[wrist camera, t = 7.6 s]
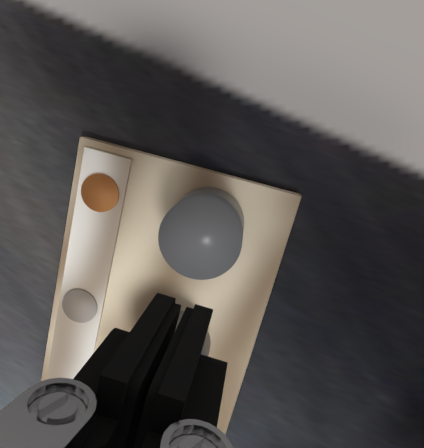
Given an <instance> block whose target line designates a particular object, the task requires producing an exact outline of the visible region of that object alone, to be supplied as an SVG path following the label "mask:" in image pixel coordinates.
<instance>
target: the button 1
mask: <svg viewBox="0 0 424 448" xmlns="http://www.w3.org/2000/svg"><path fill="white" fill-rule="evenodd" d="M243 231H244V215H243V212H242V209H241V207H240V205H239V203H238V202H237V201H236V199H235V198H234V197H233V196H231V195H230V194H229V193H227V192H226V191H224V190H222V189H219V188H215V187H201V188H197V189H194V190H192V191H190V192H189V193H187V194H186V195H185V196H184V197H183V198H182V199H181V200H180V201H179V202H178V203H176V204H175V205H174V206H173V207H172V208H171V209H170V210H169V211H168V212H167V214H166V215H165V216H164V218H163V220H162V222H161V224H160V228H159V233H158V242H159V248H160V251H161V253H162V256H163V257H164V259H165V261H166V262H167V263H168V265H169V266H170V267H171V268H172V269H173V270H175V271H176V272H178V273H179V274H181V275H183V276H185V277H188V278H191V279H196V280H207V279H212V278H216V277H218V276H221V275H222V274H224V273H226V272H227V271H228V270H229V269H230V268H231V267H232V266H233V265H234V264H235V262H236V261H237V259H238V257H239V255H240V252H241V248H242V240H243Z"/></svg>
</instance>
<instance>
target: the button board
mask: <svg viewBox="0 0 424 448" xmlns="http://www.w3.org/2000/svg"><path fill="white" fill-rule="evenodd" d="M201 187H215V188H219V189H222V190H224V191H226V192H227V193H229V194H230V195H231V196H233V197H234V198H235V199H236V201H237V202H238V203H239V205H240V207H241V209H242V212H243V215H244V231H243V240H242V248H241V252H240V255H239V257H238V259H237V261H236V262H235V264H234V265H233V266H232V267H231V268H230V269H229V270H228V271H227V272H226V273H224V274H222V275H221V276H218V277H216V278H212V279H207V280H196V279H191V278H188V277H185V276H183V275H181V274H179V273H178V272H176V271H175V270H173V269H172V268H171V267H170V266H169V265H168V263H167V262H166V261H165V259H164V257H163V256H162V253H161V251H160V248H159V242H158V233H159V228H160V224H161V222H162V220H163V218H164V216H165V215H166V214H167V212H168V211H169V210H170V209H171V208H172V207H173V206H174V205H175V204H176V203H178V202H179V201H180V200H181V199H182V198H183V197H184V196H185V195H186V194H187V193H189V192H190V191H192V190H194V189H197V188H201ZM301 197H302V196H301V195H300V194H299V193H295V192H291V191H288V190H284V189H280V188H277V187H273V186H269V185H265V184H262V183H258V182H254V181H251V180H247V179H243V178H239V177H236V176H232V175H228V174H224V173H221V172H217V171H213V170H210V169H206V168H202V167H198V166H195V165H191V164H187V163H184V162H180V161H176V160H172V159H169V158H165V157H161V156H158V155H154V154H150V153H146V152H143V151H139V150H135V149H131V148H128V147H124V146H120V145H117V144H113V143H109V142H105V141H102V140H98V139H94V138H91V137H87V136H86V137H80V140H79V146H78V152H77V159H76V165H75V171H74V178H73V184H72V190H71V196H70V203H69V209H68V215H67V222H66V228H65V234H64V241H63V247H62V253H61V259H60V266H59V272H58V278H57V285H56V291H55V297H54V304H53V310H52V316H51V322H50V329H49V335H48V341H47V348H46V354H45V360H44V366H43V373H42V379H41V381H43V380H47V379H52V378H70V379H74V377H75V376H76V375H77V373H78V372H79V371H80V370H81V368H82V367H83V366H84V365H85V363H86V362H87V361H88V360H89V358H90V357H91V356H92V355H93V353H94V352H95V351H96V349H97V348H98V347H99V346H100V344H101V343H102V342H103V341H104V339H105V338H106V337H107V336H108V334H109V333H110V332H111V331H112V330H113V329H114V328H118V329H121V330H125V331H128V332H130V331H131V330H132V328H133V327H134V325H135V324H136V322H137V321H138V320H139V318H140V317H141V315H142V314H143V312H144V311H145V309H146V308H147V307H148V305H149V304H150V302H151V301H152V299H153V298H154V296H155V295H156V294H157V293H160V294H164V295H167V296H170V297H174V298H176V301H175V303H176V304H180V305H181V309H180V310H181V311H185V309H186V307H189V308H194V306H195V304H197V305H201V306H204V307H207V308H211V309H213V313H212V317H211V320H210V324H209V327H208V332H209V335H210V341H211V345H210V351H209V357H212V358H215V359H218V360H222V361H225V362H227V363H228V364H227V370H226V376H225V382H224V388H223V394H222V400H221V406H220V412H219V418H218V424H217V428H218V429H220V430H221V431H222V432H223V433H224V434H226V431H227V428H228V424H229V421H230V418H231V415H232V412H233V409H234V406H235V403H236V400H237V396H238V393H239V390H240V387H241V384H242V381H243V378H244V375H245V371H246V368H247V365H248V362H249V359H250V356H251V353H252V350H253V346H254V343H255V340H256V337H257V334H258V331H259V328H260V325H261V322H262V318H263V315H264V312H265V309H266V306H267V303H268V300H269V297H270V293H271V290H272V287H273V284H274V281H275V278H276V275H277V272H278V268H279V265H280V262H281V259H282V256H283V253H284V250H285V247H286V244H287V240H288V237H289V234H290V231H291V228H292V225H293V222H294V219H295V215H296V212H297V209H298V206H299V203H300V200H301Z"/></svg>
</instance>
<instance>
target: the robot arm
mask: <svg viewBox="0 0 424 448" xmlns="http://www.w3.org/2000/svg"><path fill="white" fill-rule="evenodd" d="M175 301H176V298H174V297H170V296H167V295H164V294H160V293H157V294H156V295H155V296H154V298H153V299H152V301H151V302H150V304H149V305H148V307H147V308H146V309H145V311H144V312H143V314H142V315H141V317H140V318H139V320H138V321H137V322H136V324H135V325H134V327H133V328H132V330H131V331H130V332H128V331H125V330H121V329H118V328H114V329H113V330H112V331H111V332H110V333H109V334H108V336H107V337H106V338H105V339H104V341H103V342H102V343H101V344H100V346H99V347H98V348H97V349H96V351H95V352H94V353H93V355H92V356H91V357H90V358H89V360H88V361H87V362H86V363H85V365H84V366H83V367H82V368H81V370H80V371H79V372H78V373H77V375H76V376H75V377H74V379H70V378H52V379H47V380H43V381H40V382H38V383H36V384H34V385H33V386H31V387H29V388H28V389H27V390H25V391H24V392H23V393H22V394H20V395H19V396H18V397H17V398H15V399H14V400H13V401H12V402H10V403H9V404H8V405H7V406H5V407H4V408H3V409H2V410H0V448H233V446H232V444H231V443H230V441H229V439H228V438H227V436H226V435H225V434H224V433H223V432H222V431H221V430H220V429H218V428H217V424H218V418H219V412H220V406H221V400H222V394H223V388H224V382H225V376H226V370H227V364H228V363H227V362H225V361H222V360H218V359H215V358H212V357H209V356H205V355H202V354H201V352H202V349H203V345H204V342H205V338H206V334H207V331H208V327H209V324H210V320H211V317H212V313H213V309H211V308H207V307H204V306H201V305H197V304H195V306H194V308H189V307H186V309H185V311H184V314H183V316H182V318H181V320H180V322H179V324H178V326H177V329H176V325H177V321H178V317H179V313H180V309H181V305H180V304H176V303H175ZM175 329H176V331H175Z"/></svg>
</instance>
